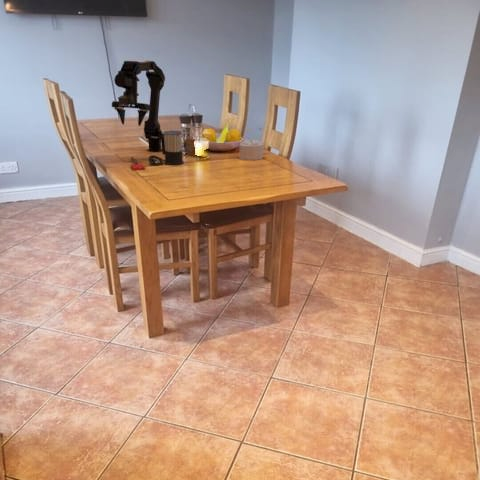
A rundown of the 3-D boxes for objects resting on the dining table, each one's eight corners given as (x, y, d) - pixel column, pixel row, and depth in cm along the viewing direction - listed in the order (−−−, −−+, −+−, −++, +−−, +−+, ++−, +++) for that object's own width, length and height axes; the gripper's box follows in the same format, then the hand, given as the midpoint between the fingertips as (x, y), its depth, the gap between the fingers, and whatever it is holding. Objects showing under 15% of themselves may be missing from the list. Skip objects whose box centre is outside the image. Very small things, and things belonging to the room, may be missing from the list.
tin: (183, 153, 247) (182, 137, 243) (187, 152, 249) (187, 136, 245) (202, 158, 239) (201, 141, 234) (206, 157, 241) (206, 140, 236)
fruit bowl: (227, 156, 244) (227, 134, 238) (187, 149, 256) (186, 127, 250) (253, 147, 264) (254, 126, 258) (215, 141, 276) (215, 121, 270)
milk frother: (187, 162, 230) (185, 131, 222) (166, 168, 219) (164, 136, 211) (165, 158, 237) (163, 128, 229) (145, 164, 225) (142, 132, 217)
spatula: (127, 159, 232) (127, 157, 231) (138, 159, 234) (138, 156, 233) (133, 170, 216) (133, 167, 215) (144, 169, 217) (144, 166, 216)
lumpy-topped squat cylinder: (265, 158, 243) (266, 141, 238) (246, 161, 236) (246, 143, 231) (253, 154, 250) (254, 137, 245) (234, 157, 243) (235, 140, 238)
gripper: (104, 86, 214) (105, 122, 219) (139, 89, 209) (139, 125, 215) (117, 89, 224) (118, 124, 229) (151, 92, 219) (150, 127, 225)
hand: (131, 125), depth 224 cm, fingers open, 9 cm apart
